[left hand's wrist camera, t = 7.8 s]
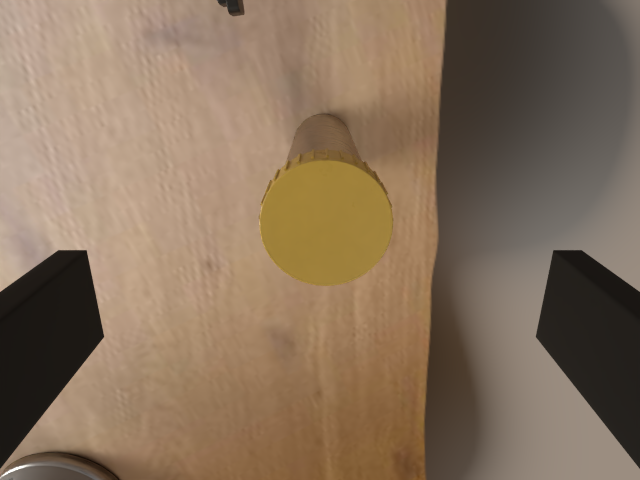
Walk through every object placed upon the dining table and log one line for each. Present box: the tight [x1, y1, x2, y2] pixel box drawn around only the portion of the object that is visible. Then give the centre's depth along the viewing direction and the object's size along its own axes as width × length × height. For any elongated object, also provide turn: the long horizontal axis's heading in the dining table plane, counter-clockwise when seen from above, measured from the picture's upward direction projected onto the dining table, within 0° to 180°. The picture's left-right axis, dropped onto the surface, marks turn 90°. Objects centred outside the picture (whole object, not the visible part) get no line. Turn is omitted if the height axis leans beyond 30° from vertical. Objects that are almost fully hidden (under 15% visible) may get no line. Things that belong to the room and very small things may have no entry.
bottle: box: [285, 114, 362, 165], centre depth 28 cm, size 5×5×20 cm
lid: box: [259, 148, 393, 286], centre depth 19 cm, size 6×6×2 cm
